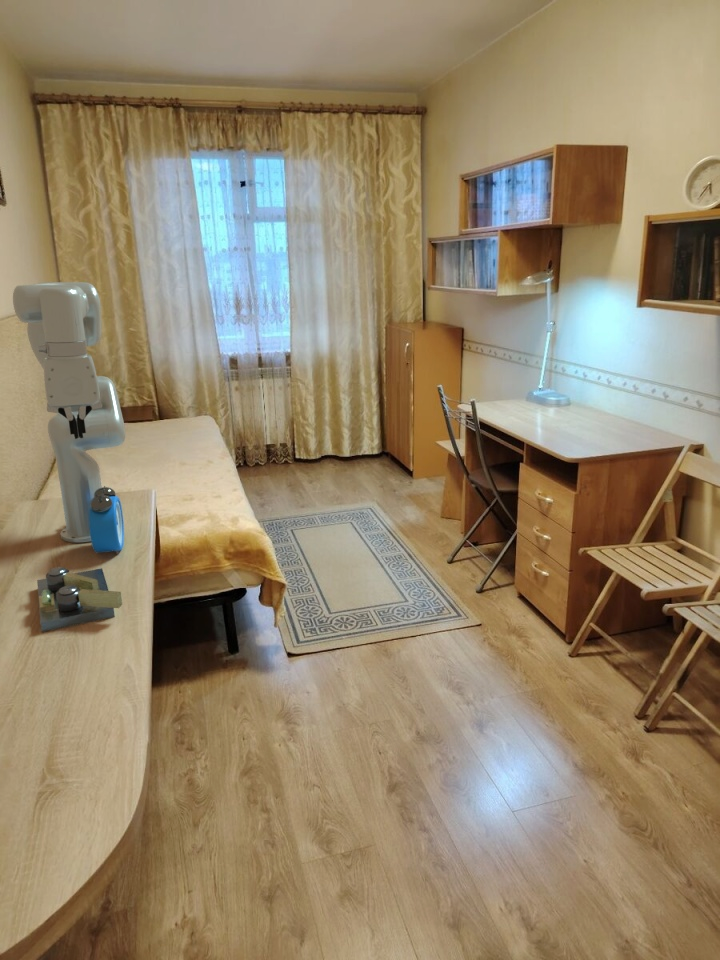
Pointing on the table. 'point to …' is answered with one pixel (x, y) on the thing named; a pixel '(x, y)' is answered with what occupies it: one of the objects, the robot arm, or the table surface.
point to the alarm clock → (106, 521)
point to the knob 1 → (68, 580)
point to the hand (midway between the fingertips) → (78, 436)
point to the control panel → (84, 614)
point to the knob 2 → (86, 598)
